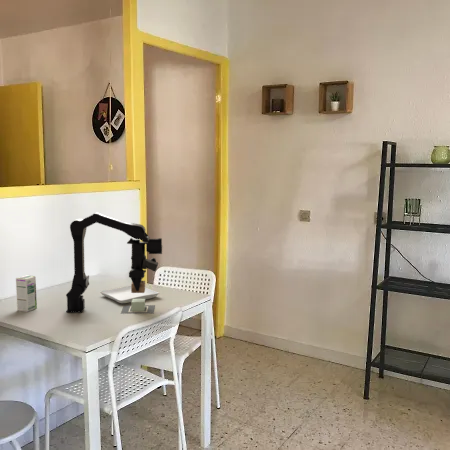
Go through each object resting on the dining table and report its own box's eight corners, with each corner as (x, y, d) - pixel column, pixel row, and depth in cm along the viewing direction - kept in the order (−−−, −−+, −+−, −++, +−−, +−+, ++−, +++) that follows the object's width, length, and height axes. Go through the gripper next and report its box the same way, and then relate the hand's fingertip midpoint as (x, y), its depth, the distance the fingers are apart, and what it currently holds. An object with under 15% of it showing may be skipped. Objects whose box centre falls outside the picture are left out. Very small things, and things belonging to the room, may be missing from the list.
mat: (120, 314, 206) (120, 313, 206) (123, 306, 218) (123, 305, 218) (153, 314, 207) (153, 313, 207) (155, 306, 219) (155, 305, 219)
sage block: (131, 311, 209) (131, 302, 209) (132, 307, 215) (132, 298, 214) (144, 311, 210) (144, 302, 209) (145, 307, 215) (145, 298, 215)
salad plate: (98, 297, 233) (98, 290, 232) (137, 290, 247) (137, 283, 246) (120, 307, 217) (120, 300, 216) (160, 299, 231) (160, 292, 230)
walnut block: (131, 292, 208) (131, 283, 208) (132, 289, 214) (132, 280, 213) (144, 292, 209) (144, 283, 208) (145, 289, 214) (145, 280, 214)
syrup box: (27, 312, 206) (26, 278, 205) (16, 310, 208) (15, 277, 207) (37, 308, 212) (36, 276, 210) (26, 306, 214) (25, 274, 212)
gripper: (156, 258, 201) (155, 294, 203) (158, 250, 219) (157, 283, 221) (128, 257, 200) (128, 294, 202) (133, 249, 218) (133, 283, 220)
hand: (138, 288), depth 211 cm, fingers closed on walnut block, 5 cm apart
